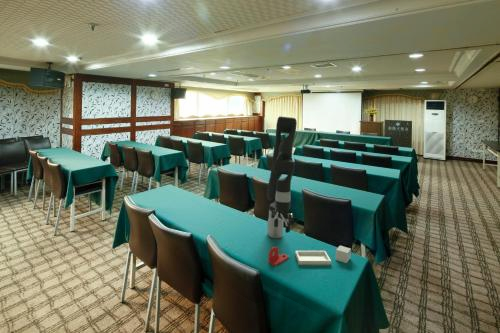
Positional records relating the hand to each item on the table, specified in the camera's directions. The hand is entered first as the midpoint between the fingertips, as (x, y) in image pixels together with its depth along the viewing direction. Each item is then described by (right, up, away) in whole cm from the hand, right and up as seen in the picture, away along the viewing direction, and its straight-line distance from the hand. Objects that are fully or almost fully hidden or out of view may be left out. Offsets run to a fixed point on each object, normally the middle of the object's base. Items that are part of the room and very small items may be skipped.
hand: (281, 229), depth 144 cm
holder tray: (+17, -17, +5) cm, 25 cm away
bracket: (-1, -18, +4) cm, 18 cm away
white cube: (+34, -18, +7) cm, 39 cm away
